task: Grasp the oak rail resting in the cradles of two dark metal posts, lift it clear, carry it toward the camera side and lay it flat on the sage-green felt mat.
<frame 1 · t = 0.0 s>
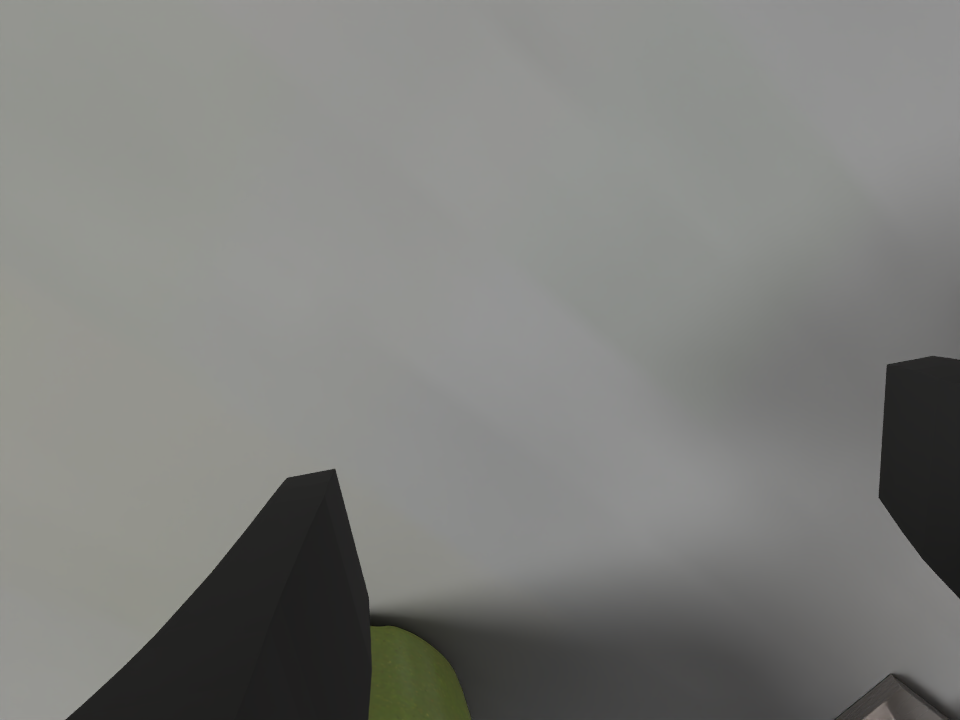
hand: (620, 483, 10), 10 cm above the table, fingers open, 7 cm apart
plant pot: (341, 701, 25), on the table
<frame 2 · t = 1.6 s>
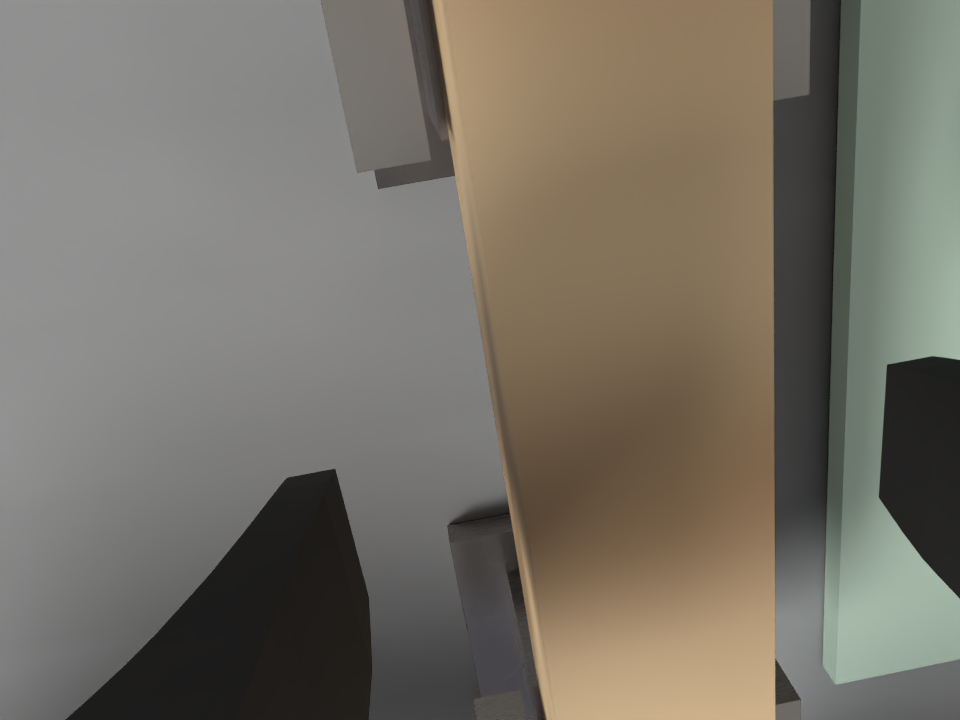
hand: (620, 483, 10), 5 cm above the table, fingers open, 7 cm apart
standards: (548, 345, 15), on the table
rail: (595, 437, 12), point 4 cm above the table, touching standards
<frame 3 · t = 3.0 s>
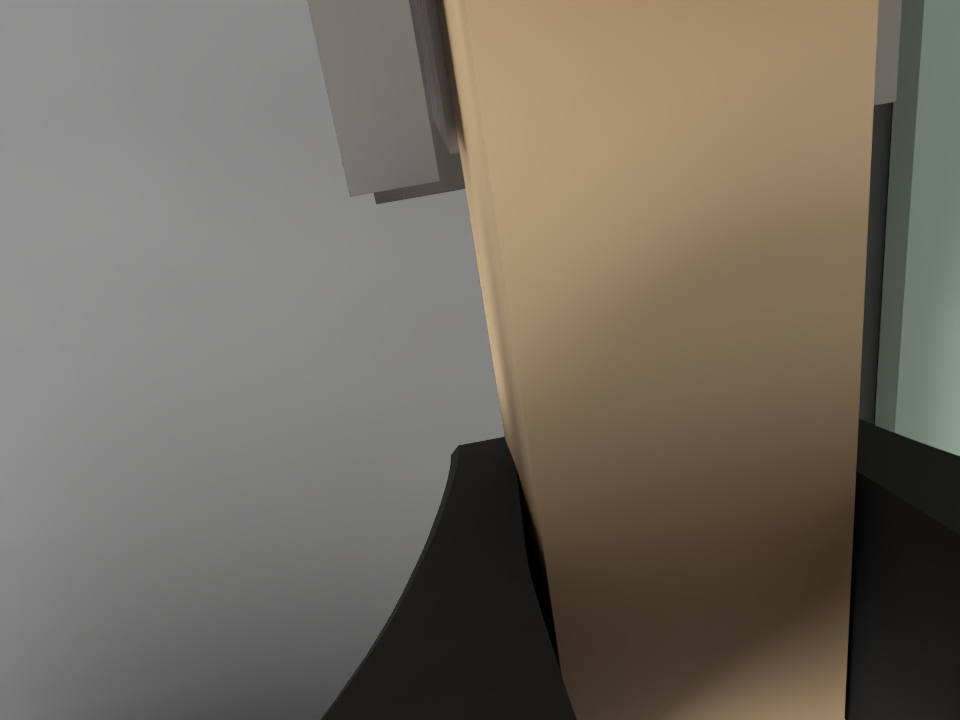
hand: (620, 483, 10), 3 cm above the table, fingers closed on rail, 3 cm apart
standards: (565, 375, 13), on the table
rail: (625, 491, 10), point 4 cm above the table, touching gripper, standards
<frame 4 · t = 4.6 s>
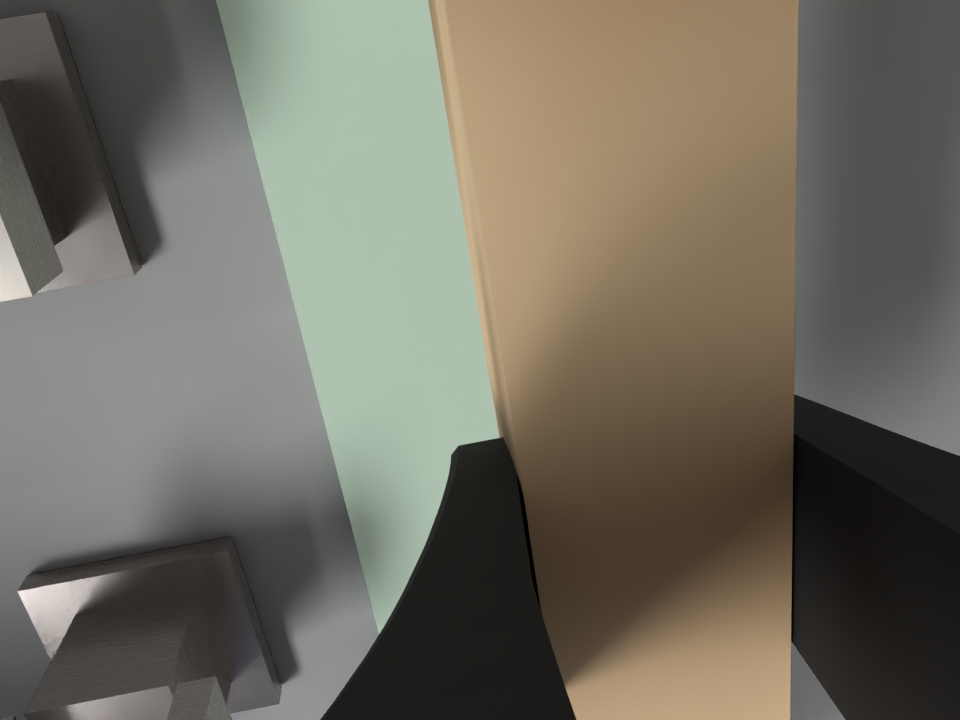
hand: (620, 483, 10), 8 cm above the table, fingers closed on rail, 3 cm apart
mat: (524, 284, 18), on the table
standards: (80, 432, 18), on the table
rail: (602, 449, 11), point 7 cm above the table, touching gripper
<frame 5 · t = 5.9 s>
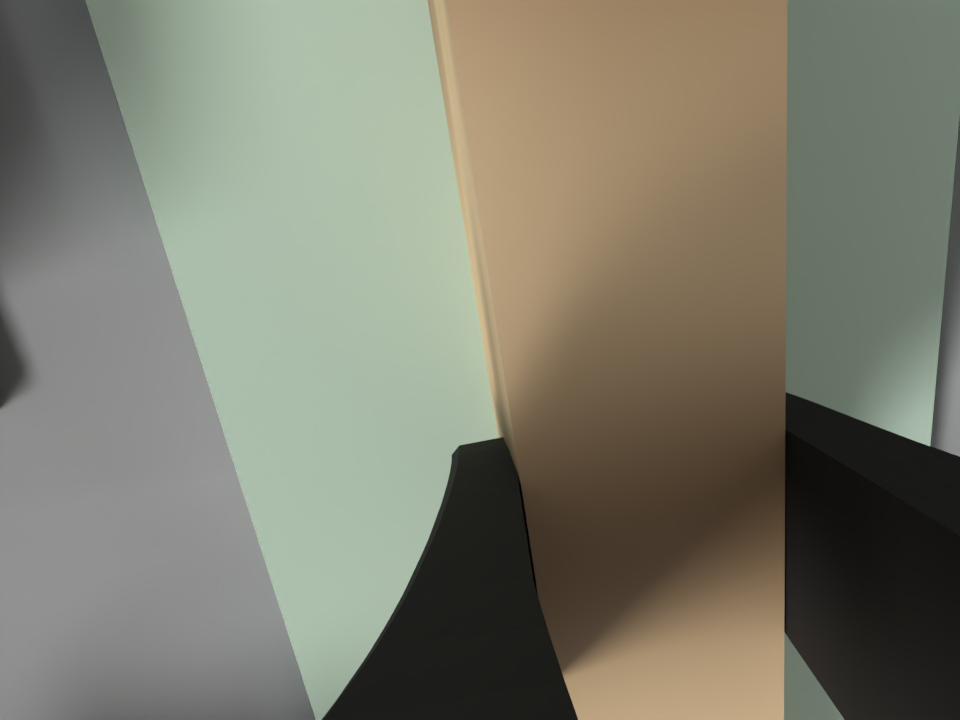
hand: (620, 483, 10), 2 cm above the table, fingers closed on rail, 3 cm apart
mat: (588, 423, 12), on the table
rail: (599, 445, 11), point 1 cm above the table, touching gripper, mat
when the fingers open (2 cm above the table, at t = 6.6 s): rail stays where it is, resting on mat.
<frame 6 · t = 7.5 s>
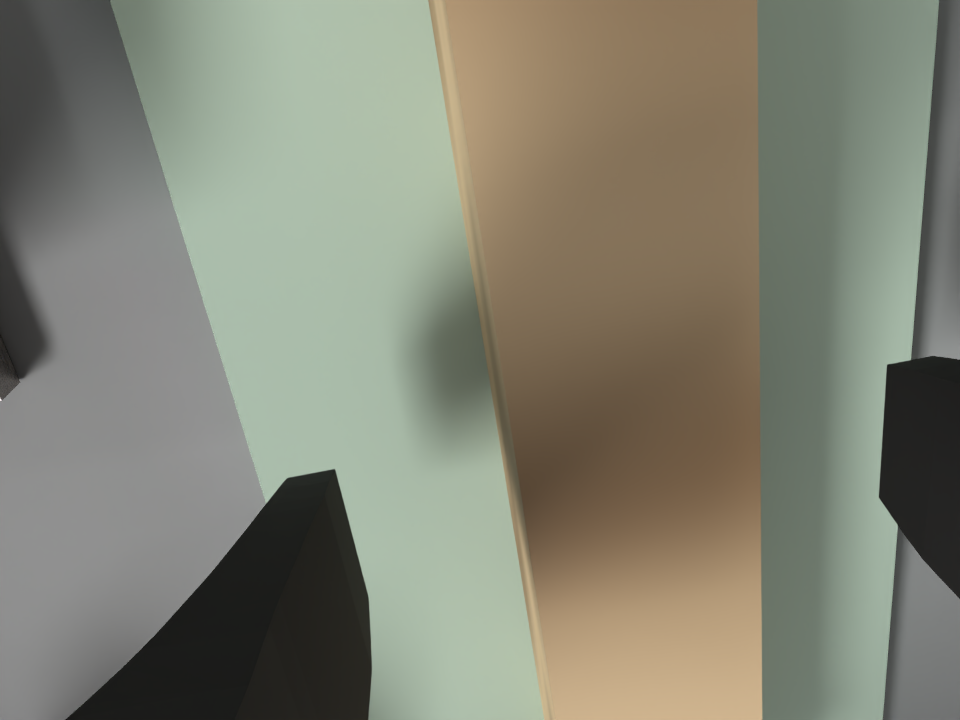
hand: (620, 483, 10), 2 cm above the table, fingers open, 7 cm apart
mat: (580, 395, 13), on the table
rail: (589, 416, 12), point 1 cm above the table, touching mat
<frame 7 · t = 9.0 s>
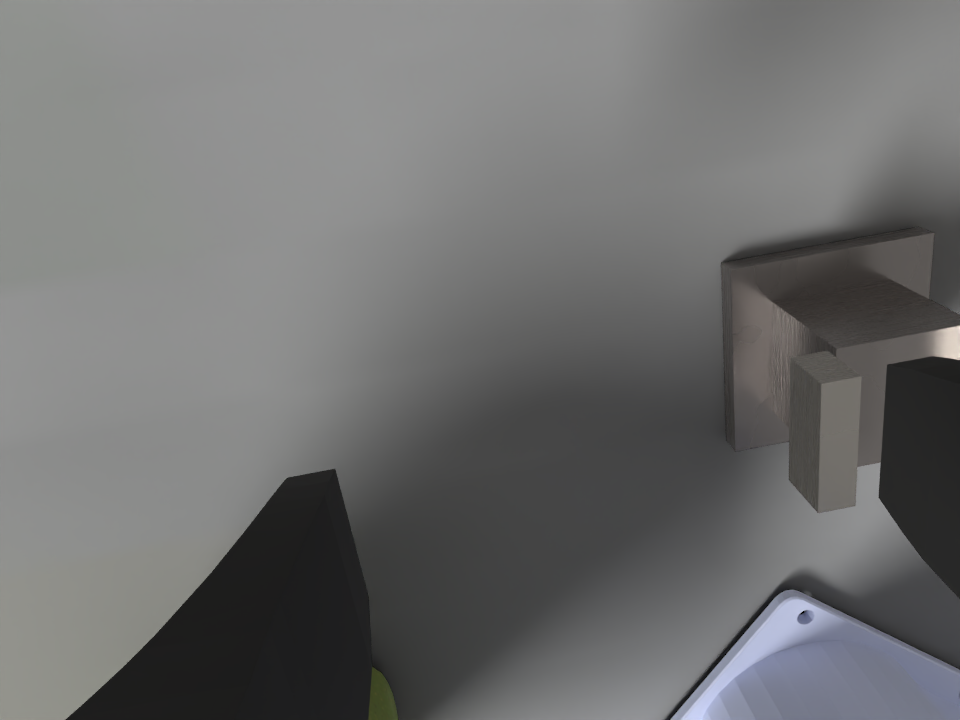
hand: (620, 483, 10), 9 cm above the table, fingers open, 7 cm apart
standards: (824, 96, 18), on the table
plant pot: (270, 711, 24), on the table
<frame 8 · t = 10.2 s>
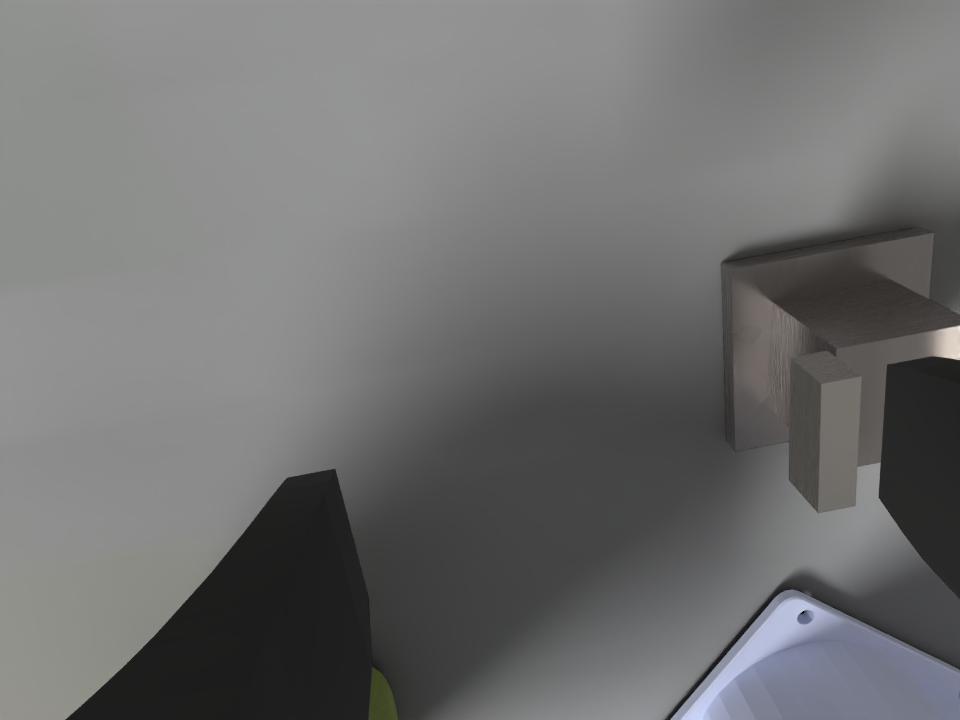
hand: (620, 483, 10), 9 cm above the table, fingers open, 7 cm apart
standards: (824, 96, 18), on the table
plant pot: (270, 711, 24), on the table
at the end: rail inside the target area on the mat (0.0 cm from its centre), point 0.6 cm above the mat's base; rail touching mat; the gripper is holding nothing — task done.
